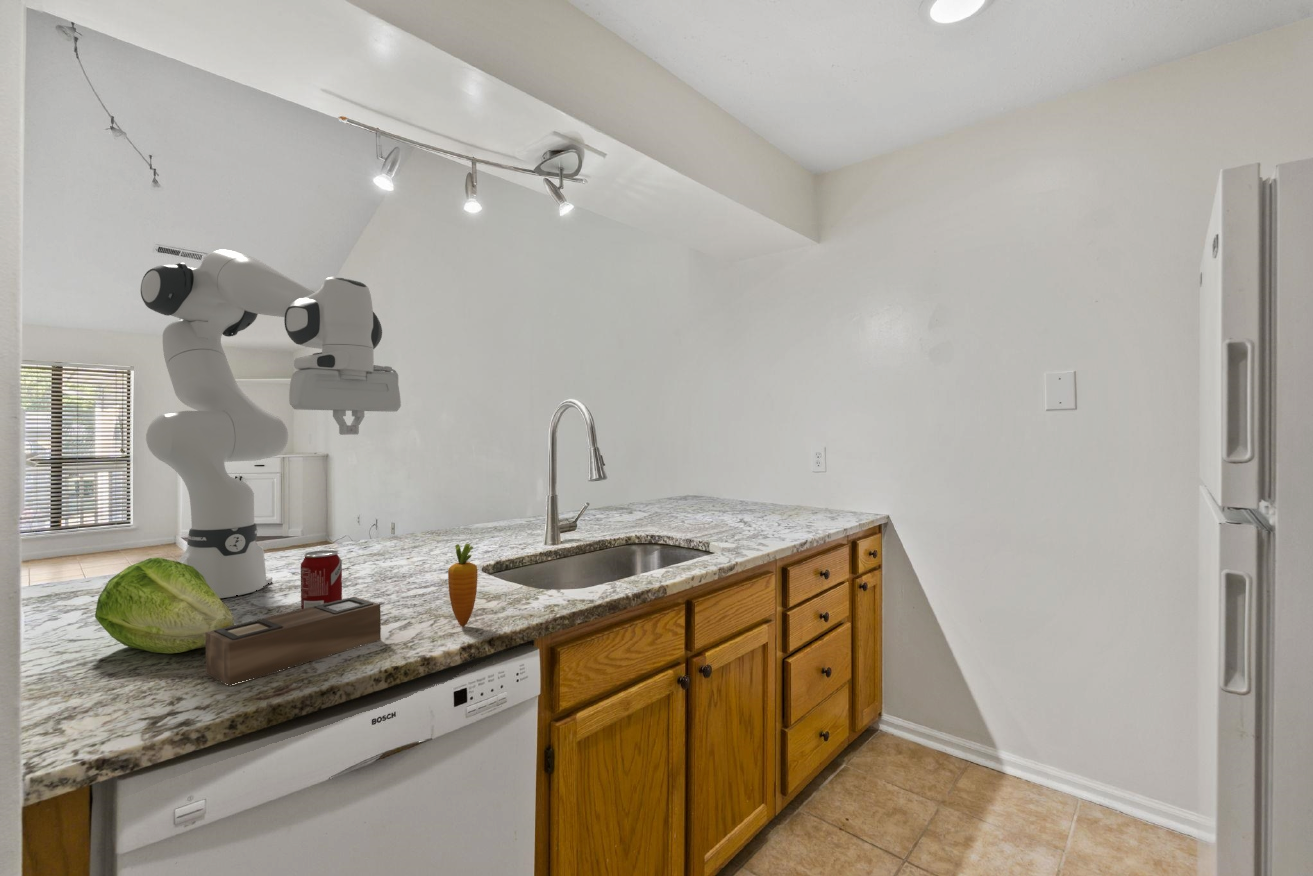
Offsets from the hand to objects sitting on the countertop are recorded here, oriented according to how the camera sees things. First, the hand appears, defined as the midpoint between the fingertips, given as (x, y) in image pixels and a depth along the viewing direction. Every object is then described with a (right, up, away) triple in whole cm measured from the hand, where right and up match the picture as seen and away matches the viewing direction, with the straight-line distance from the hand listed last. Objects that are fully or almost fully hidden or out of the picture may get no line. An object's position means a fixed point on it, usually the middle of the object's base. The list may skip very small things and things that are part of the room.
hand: (349, 434), depth 117 cm
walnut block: (+4, -35, -22) cm, 41 cm away
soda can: (-4, -34, -3) cm, 35 cm away
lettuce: (-17, -35, -20) cm, 43 cm away
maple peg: (0, -35, -28) cm, 45 cm away
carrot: (+25, -35, -9) cm, 43 cm away
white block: (+8, -34, -17) cm, 39 cm away
